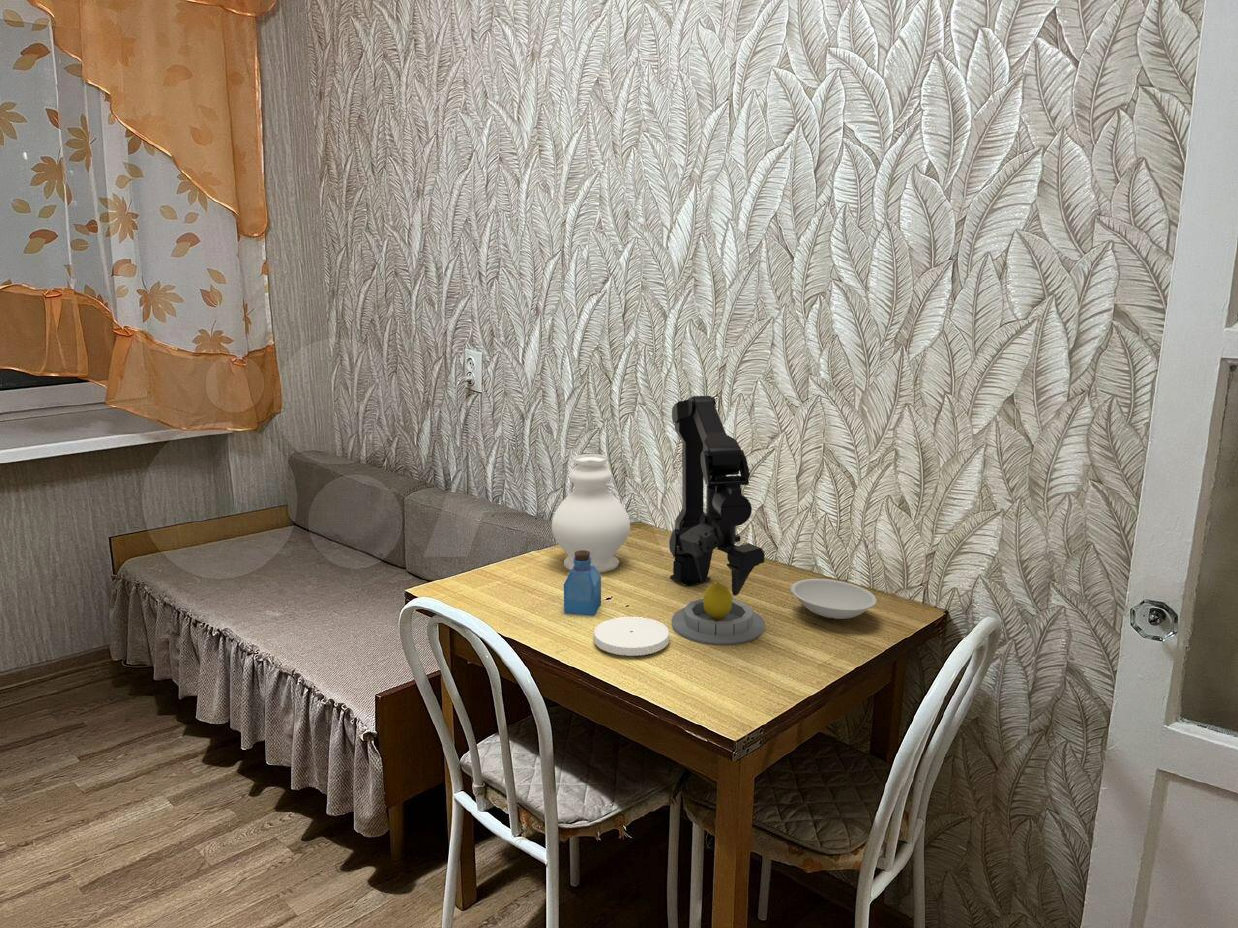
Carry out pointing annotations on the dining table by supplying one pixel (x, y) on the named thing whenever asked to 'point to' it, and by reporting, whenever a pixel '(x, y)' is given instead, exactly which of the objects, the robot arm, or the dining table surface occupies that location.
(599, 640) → the plastic lid
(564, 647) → the dining table surface
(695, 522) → the robot arm
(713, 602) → the lemon
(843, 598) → the dish
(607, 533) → the decorative vase
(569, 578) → the perfume bottle
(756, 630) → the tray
